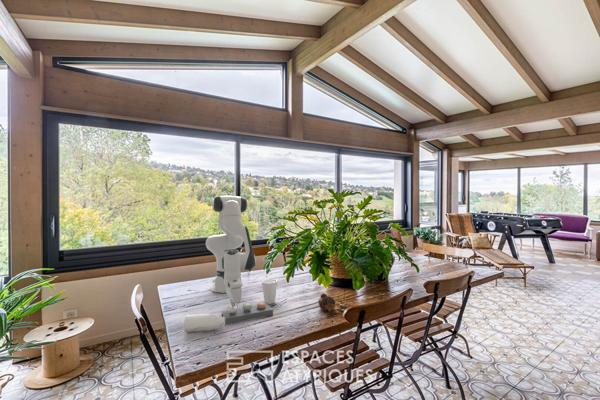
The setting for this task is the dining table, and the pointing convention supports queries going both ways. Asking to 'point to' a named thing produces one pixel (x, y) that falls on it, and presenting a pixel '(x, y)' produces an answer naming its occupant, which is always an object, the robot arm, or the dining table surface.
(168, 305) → the dining table surface
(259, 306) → the orange rounded lump
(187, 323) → the white plastic bottle
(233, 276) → the robot arm
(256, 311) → the console
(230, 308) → the white round dome
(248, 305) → the sage button
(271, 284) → the foam cup
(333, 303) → the decorative turtle
